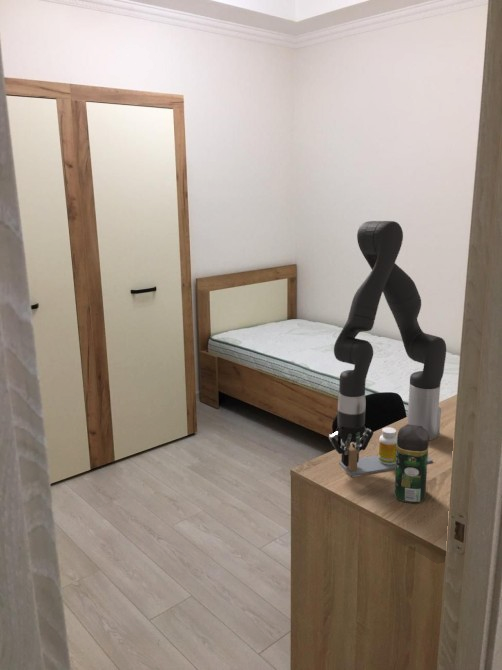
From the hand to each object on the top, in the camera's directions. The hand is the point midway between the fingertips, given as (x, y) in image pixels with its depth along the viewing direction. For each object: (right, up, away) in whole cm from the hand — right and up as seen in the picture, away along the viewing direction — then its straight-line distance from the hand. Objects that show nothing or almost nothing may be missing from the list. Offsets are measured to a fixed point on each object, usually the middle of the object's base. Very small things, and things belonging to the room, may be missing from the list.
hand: (349, 464), depth 164 cm
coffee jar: (+13, -5, -13) cm, 19 cm away
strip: (+11, 0, +4) cm, 12 cm away
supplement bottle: (+12, 0, +4) cm, 12 cm away
